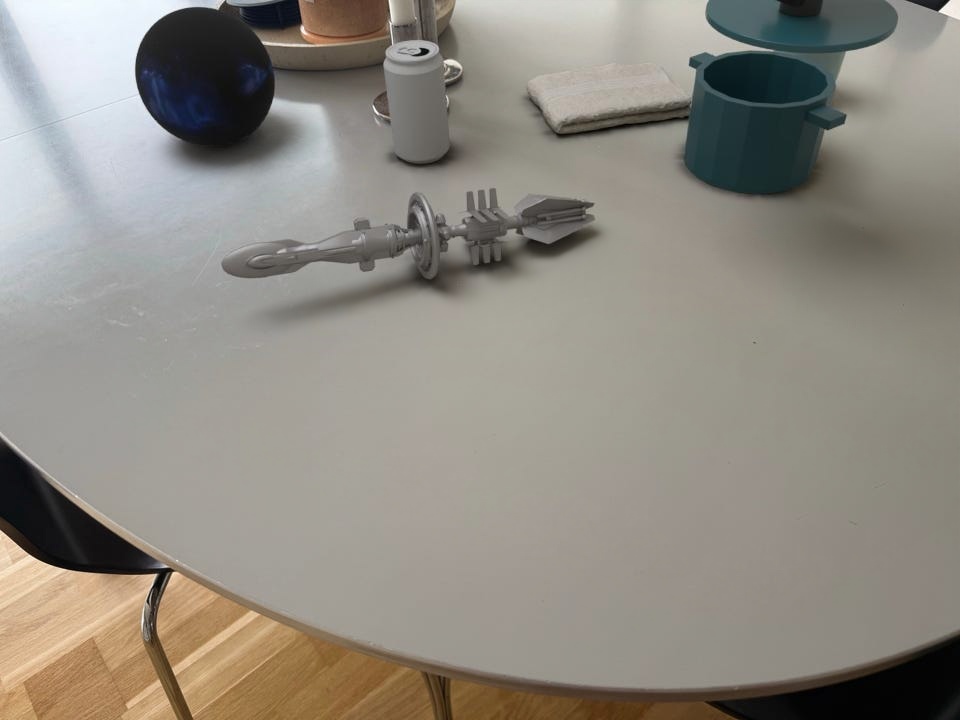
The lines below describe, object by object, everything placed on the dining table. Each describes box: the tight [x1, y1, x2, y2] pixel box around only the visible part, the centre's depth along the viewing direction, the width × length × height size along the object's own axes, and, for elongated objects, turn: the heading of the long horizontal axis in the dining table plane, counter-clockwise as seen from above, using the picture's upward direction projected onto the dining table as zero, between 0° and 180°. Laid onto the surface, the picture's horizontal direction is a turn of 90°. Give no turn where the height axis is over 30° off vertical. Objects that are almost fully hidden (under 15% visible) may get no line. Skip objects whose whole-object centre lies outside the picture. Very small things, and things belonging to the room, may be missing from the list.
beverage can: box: [382, 39, 451, 165], centre depth 89 cm, size 6×6×12 cm
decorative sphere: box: [134, 6, 276, 147], centre depth 93 cm, size 15×15×15 cm
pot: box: [683, 49, 848, 195], centre depth 86 cm, size 14×19×10 cm
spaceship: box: [220, 187, 596, 280], centre depth 74 cm, size 8×35×8 cm
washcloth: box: [525, 61, 693, 135], centre depth 99 cm, size 12×18×3 cm, turn 104°
